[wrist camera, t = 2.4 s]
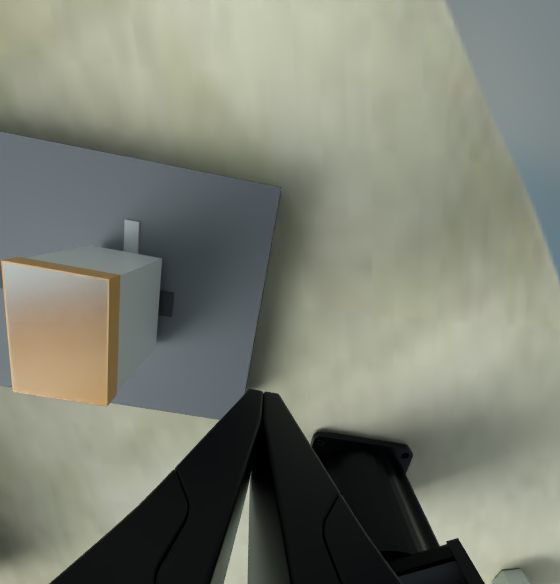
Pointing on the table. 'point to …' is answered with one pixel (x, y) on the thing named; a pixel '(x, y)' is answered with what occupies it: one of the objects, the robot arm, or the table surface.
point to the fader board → (157, 243)
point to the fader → (80, 321)
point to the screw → (511, 577)
